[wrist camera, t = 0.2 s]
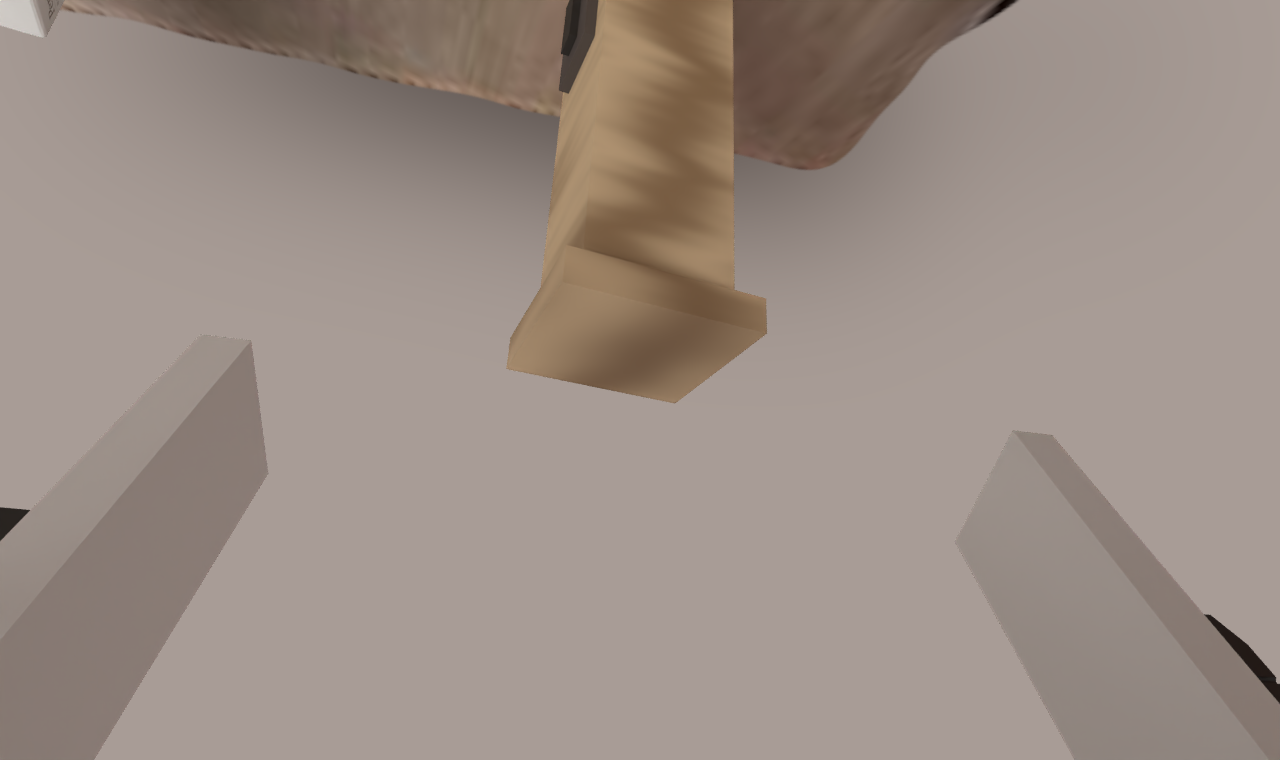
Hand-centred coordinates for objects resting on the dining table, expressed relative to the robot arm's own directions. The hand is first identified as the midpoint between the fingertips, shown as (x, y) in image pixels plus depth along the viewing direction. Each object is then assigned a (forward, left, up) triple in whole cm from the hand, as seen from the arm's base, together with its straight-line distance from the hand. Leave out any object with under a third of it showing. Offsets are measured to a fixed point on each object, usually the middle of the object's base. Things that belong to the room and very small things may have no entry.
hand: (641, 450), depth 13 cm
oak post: (+8, -4, -35) cm, 37 cm away
